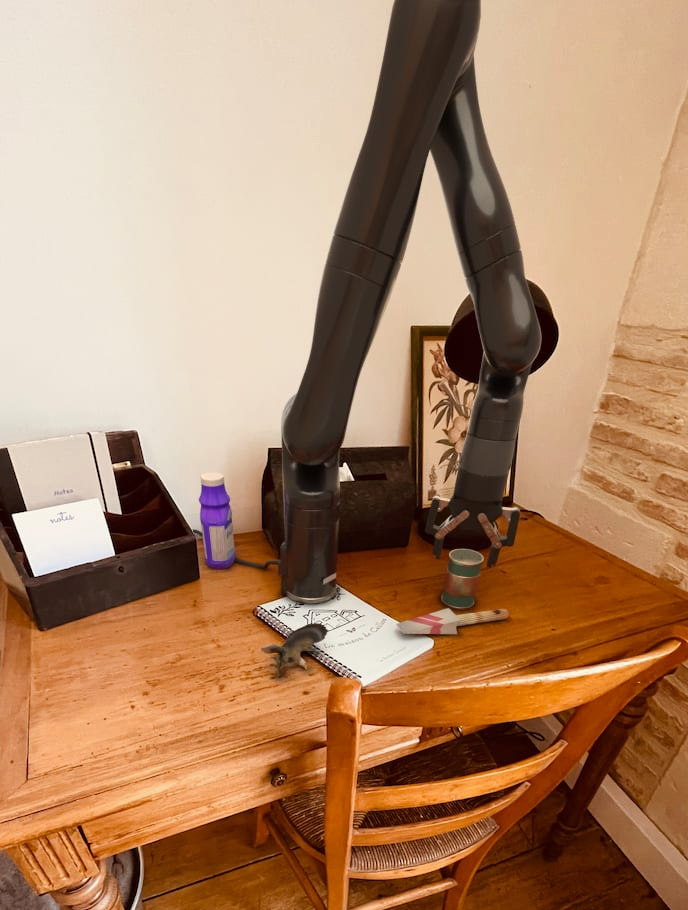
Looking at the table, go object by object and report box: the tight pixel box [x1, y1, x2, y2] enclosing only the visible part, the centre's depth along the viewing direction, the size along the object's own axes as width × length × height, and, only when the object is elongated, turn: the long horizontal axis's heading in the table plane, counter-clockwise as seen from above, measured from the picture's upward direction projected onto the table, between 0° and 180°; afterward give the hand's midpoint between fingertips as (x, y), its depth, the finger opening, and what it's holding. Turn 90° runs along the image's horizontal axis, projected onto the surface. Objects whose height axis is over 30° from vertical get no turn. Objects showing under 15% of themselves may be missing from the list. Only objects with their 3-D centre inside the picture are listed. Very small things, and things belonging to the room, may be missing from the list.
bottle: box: [198, 471, 236, 570], centre depth 98 cm, size 7×6×17 cm
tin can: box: [440, 548, 485, 611], centre depth 91 cm, size 6×6×9 cm
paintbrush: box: [395, 607, 509, 635], centre depth 86 cm, size 4×3×20 cm
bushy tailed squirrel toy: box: [260, 622, 329, 678], centre depth 77 cm, size 8×7×9 cm
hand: (463, 561), depth 89 cm, fingers open, 8 cm apart
